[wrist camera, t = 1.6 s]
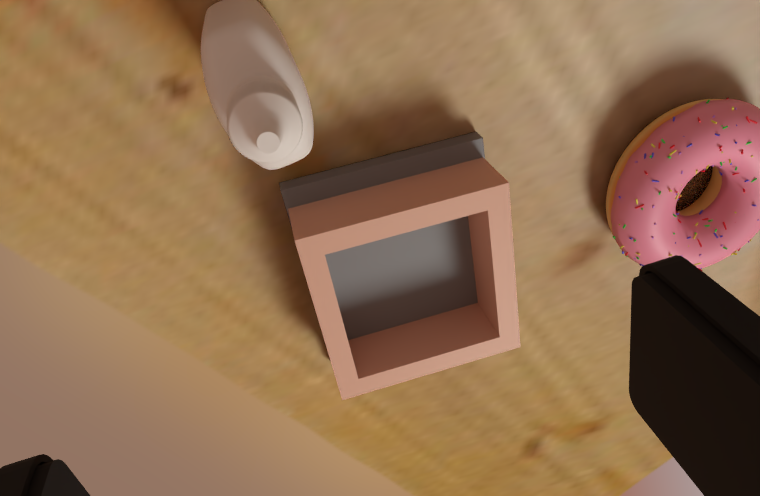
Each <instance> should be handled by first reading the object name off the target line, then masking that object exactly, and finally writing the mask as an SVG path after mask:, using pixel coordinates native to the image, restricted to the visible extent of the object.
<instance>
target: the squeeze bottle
mask: <svg viewBox="0 0 760 496" xmlns="http://www.w3.org/2000/svg"><path fill="white" fill-rule="evenodd" d="M201 61H202V69H203V75H204V80H205V85H206V89H207V92H208V95H209V98H210V101H211V104H212V106H213V109H214V111H215V113H216V115H217V118H218V119H219V121H220V123H221V125H222V127H223V128H224V130H225V131H226V133H227V134H228V136H229V140H231V143H232V144H233V146H234V147H236V150H238V152H239V153H241V155H244V156H245V157H248V159H251V160H252V161H254V162H255V163H256V164H258V165H259V166H261V167H263V168H265V169H268V170H275V169H279V168H282V167H285V166H287V165H290V164H292V163H294V162H297V161H299V160H301V159H303V158H304V157H305V156H307V155H308V154H309V153H310V151H311V149H312V146H313V137H314V126H313V115H312V109H311V104H310V100H309V96H308V93H307V90H306V87H305V84H304V82H303V79H302V77H301V74H300V72H299V70H298V68H297V65H296V63H295V61H294V59H293V56H292V54H291V52H290V50H289V47H288V45H287V43H286V41H285V39H284V37H283V35H282V33H281V31H280V29H279V28H278V26H277V24H276V23H275V21H274V20H273V19H272V17H271V16H270V15H269V13H268V12H267V11H266V10H265V8H264V7H263V6H262V5H261V4H260V3H259V2H258V1H257V0H222V1H219V2H217V3H215V4H213V5H211V6H210V7H209V8H208V9H207V12H206V15H205V19H204V25H203V31H202V37H201Z"/></svg>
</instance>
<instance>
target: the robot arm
mask: <svg viewBox="0 0 760 496" xmlns="http://www.w3.org/2000/svg"><path fill="white" fill-rule="evenodd" d="M629 394H630V398H631V401H632V403H633V405H634V407H635V409H636V410H637V412H638V413H639V414H640V416H641V417H642V418H643V419H644V421H645V422H646V423H647V424H648V426H649V427H650V428H651V429H652V431H653V432H654V433H655V434H656V436H657V437H658V438H659V440H660V441H661V442H662V443H663V445H664V446H665V447H666V448H667V450H668V451H669V452H670V453H671V455H672V456H673V457H674V458H675V460H676V461H677V462H678V463H679V464H680V466H681V467H682V468H683V469H684V471H685V472H686V473H687V474H688V476H689V477H690V478H691V480H692V481H693V482H694V483H695V485H696V486H697V487H698V488H699V490H700V491H701V492H702V493H703V495H704V496H760V316H758V315H757V314H756V313H754V312H753V311H752V310H751V309H749V308H748V307H747V306H746V305H744V304H743V303H742V302H740V301H739V300H738V299H737V298H735V297H734V296H733V295H732V294H730V293H729V292H728V291H726V290H725V289H724V288H723V287H721V286H720V285H719V284H718V283H716V282H715V281H714V280H712V279H711V278H710V277H709V276H707V275H706V274H705V273H704V272H702V271H701V270H700V269H698V268H697V267H696V266H695V265H693V264H692V263H691V262H689V261H688V260H687V259H685V258H684V257H682V256H678V255H675V256H672V257H669V258H666V259H662V260H659V261H656V262H653V263H650V264H646V265H644V266H642V268H641V269H640V273H639V276H638V277H635V278H634V279H633V281H632V299H631V336H630V373H629ZM0 496H90V495H89V494H88V492H87V491H86V490H85V488H84V487H83V486H82V484H81V483H80V482H79V481H78V479H77V478H76V477H75V476H74V474H73V473H72V472H71V470H70V469H69V468H68V466H67V465H66V464H65V463H64V462H63V461H62V460H54V461H53V460H52V459H51V458H50V457H49V456H47V455H44V454H42V455H38V456H34V457H31V458H28V459H25V460H22V461H18V462H15V463H12V464H9V465H6V466H3V467H2V468H0Z"/></svg>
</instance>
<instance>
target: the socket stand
mask: <svg viewBox="0 0 760 496" xmlns="http://www.w3.org/2000/svg"><path fill="white" fill-rule="evenodd" d="M279 185H280V190H281V194H282V197H283V200H284V204H285V207H286V210H287V214H288V217H289V220H290V224H291V227H292V231H293V235H294V240H295V244H296V247H297V250H298V254H299V257H300V260H301V264H302V267H303V270H304V274H305V277H306V280H307V284H308V287H309V290H310V294H311V297H312V300H313V304H314V307H315V310H316V314H317V317H318V321H319V324H320V327H321V331H322V334H323V337H324V341H325V344H326V347H327V351H328V354H329V357H330V361H331V364H332V367H333V371H334V374H335V377H336V381H337V384H338V387H339V391H340V394H341V397H342V400H344V399H348V398H351V397H355V396H358V395H361V394H365V393H368V392H371V391H375V390H378V389H381V388H385V387H388V386H391V385H395V384H398V383H401V382H405V381H408V380H411V379H415V378H418V377H421V376H425V375H428V374H432V373H435V372H438V371H442V370H445V369H448V368H452V367H455V366H458V365H462V364H465V363H468V362H472V361H475V360H478V359H482V358H485V357H488V356H492V355H495V354H498V353H502V352H505V351H509V350H512V349H515V348H519V347H520V334H519V320H518V305H517V291H516V277H515V262H514V248H513V234H512V219H511V205H510V190H509V182H508V181H507V180H506V179H505V178H504V177H503V176H502V175H500V174H499V173H498V172H497V171H496V170H495V169H494V168H493V167H492V166H491V165H490V164H489V163H488V162H487V161H486V160H485V155H484V145H483V138H482V137H481V136H480V135H479V134H478V133H477V132H474V133H470V134H466V135H462V136H458V137H454V138H451V139H447V140H443V141H439V142H435V143H431V144H427V145H424V146H420V147H416V148H412V149H408V150H404V151H400V152H397V153H393V154H389V155H385V156H381V157H377V158H373V159H370V160H366V161H362V162H358V163H354V164H350V165H346V166H343V167H339V168H335V169H331V170H327V171H323V172H319V173H316V174H312V175H308V176H304V177H300V178H296V179H292V180H289V181H285V182H281V183H279Z"/></svg>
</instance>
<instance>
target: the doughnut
mask: <svg viewBox="0 0 760 496" xmlns="http://www.w3.org/2000/svg"><path fill="white" fill-rule="evenodd" d="M709 166H712V167H713V170H712V176H711V179H710V182H709V184H708V186H707V188H706V189H705V191H704V192H703V194H702V195H701V196H700V197H699V198H698V199H697V200H696V201H695V202H694V203H693V204H691V205H690V206H688V207H687V208H685V209H683V210H680V211H676V209H675V208H676V203H677V200H679V198H680V197H681V196H682V195H680V193H681V191H682V190H683V188H684V187H685V186H686V184H687V183H688V182H689V181H690V180H691V179H692V178H693V177H694V176H695V175H696V174H697V173H699V172H705V169H708V167H709ZM703 169H704V170H703ZM606 215H607V220H608V224H609V227H610V230H611V232H612V234H613V238H614V239H615V240H616V242H617V243H618V245H619V247H620V249H622V254H624V253H625V256H627V257H629V258H630V259H632V260H634V261H635V262H637V263H639V265H640V266H641V265H642V266H644V265H646V264H650V263H653V262H656V261H659V260H662V259H666V258H669V257H672V256H675V255H678V256H682V257H684V258H685V259H687V260H688V261H689V262H691V263H692V264H693V265H695V266H696V267H697V268H698V269H700V270H701V269H702V268H704V267H707V266H710V265H712V264H715V263H717V262H719V261H721V260H723V259H725V258H726V257H728V256H730V255H733V254H734V255H737V253H736V251H737V250H738V251H739V250H740V248H741V247H742V246H743V245H745V244H746V243H747V242H748V243H749V242H750V241H751V238H752V237H753V236H754V235H755V234H757V232H758V231H759V230H760V109H759V108H758V107H756V106H754V105H752V104H750V103H747V102H744V101H741V100H736V99H729V98H726V99H704V100H698V101H693V102H690V103H687V104H684V105H681V106H678V107H676V108H674V109H672V110H670V111H668V112H666V113H664V114H663V115H661V116H660V117H658V118H657V119H655V120H654V121H652V122H651V123H650V124H649V125H647V126H646V127H645V128H644V129H643V130H642V131H641V132H640V133H639V134H638V135H637V136H636V137H635V138H634V139H633V140H632V141H631V143H630V144H629V145H628V146H627V148H626V149H625V151H624V152H623V154H622V155H621V157H620V159H619V160H618V162H617V164H616V166H615V168H614V170H613V173H612V175H611V178H610V181H609V185H608V189H607V195H606ZM701 271H702V270H701Z"/></svg>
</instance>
